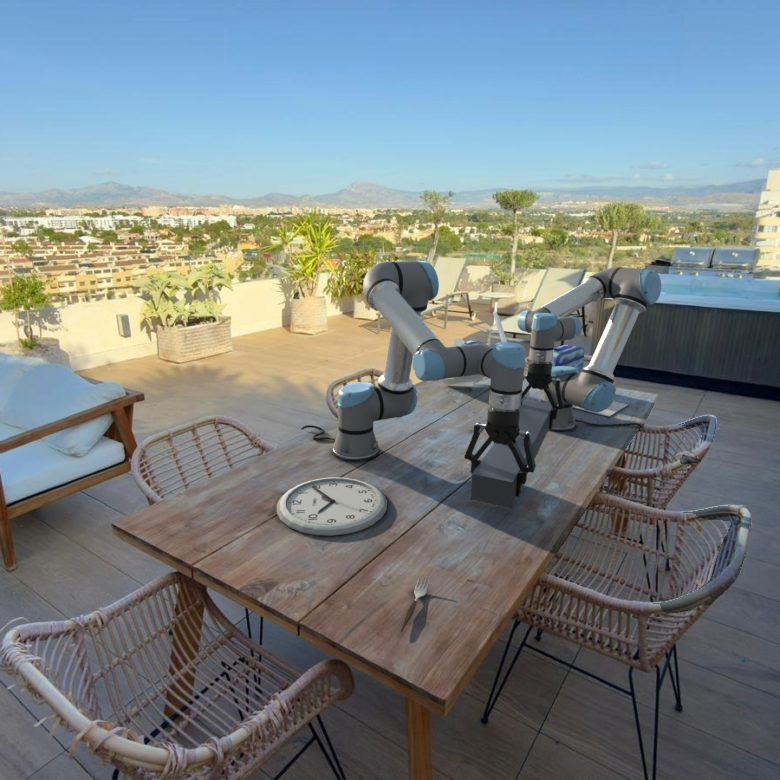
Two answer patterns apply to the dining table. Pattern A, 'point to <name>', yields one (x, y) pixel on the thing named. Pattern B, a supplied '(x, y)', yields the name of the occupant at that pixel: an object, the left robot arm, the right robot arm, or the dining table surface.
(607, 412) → the invitation card
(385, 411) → the left robot arm
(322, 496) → the wall clock
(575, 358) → the lunch box
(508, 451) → the wide beam
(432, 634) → the dining table surface
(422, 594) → the fork
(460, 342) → the white plastic object
